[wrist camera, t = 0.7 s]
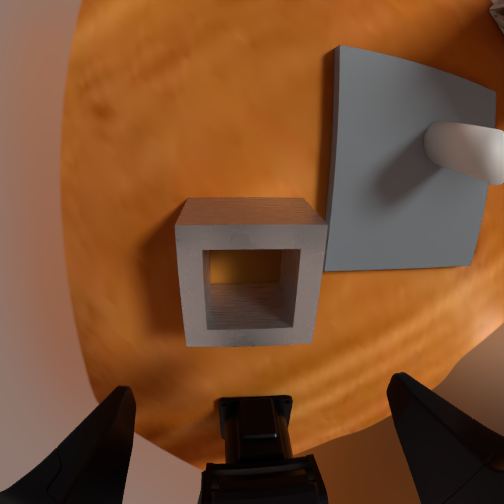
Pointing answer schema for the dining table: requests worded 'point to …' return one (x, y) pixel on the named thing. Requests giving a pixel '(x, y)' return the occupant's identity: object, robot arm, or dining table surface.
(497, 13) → the coffee box
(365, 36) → the dining table surface
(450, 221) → the duct plate
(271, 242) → the collar
